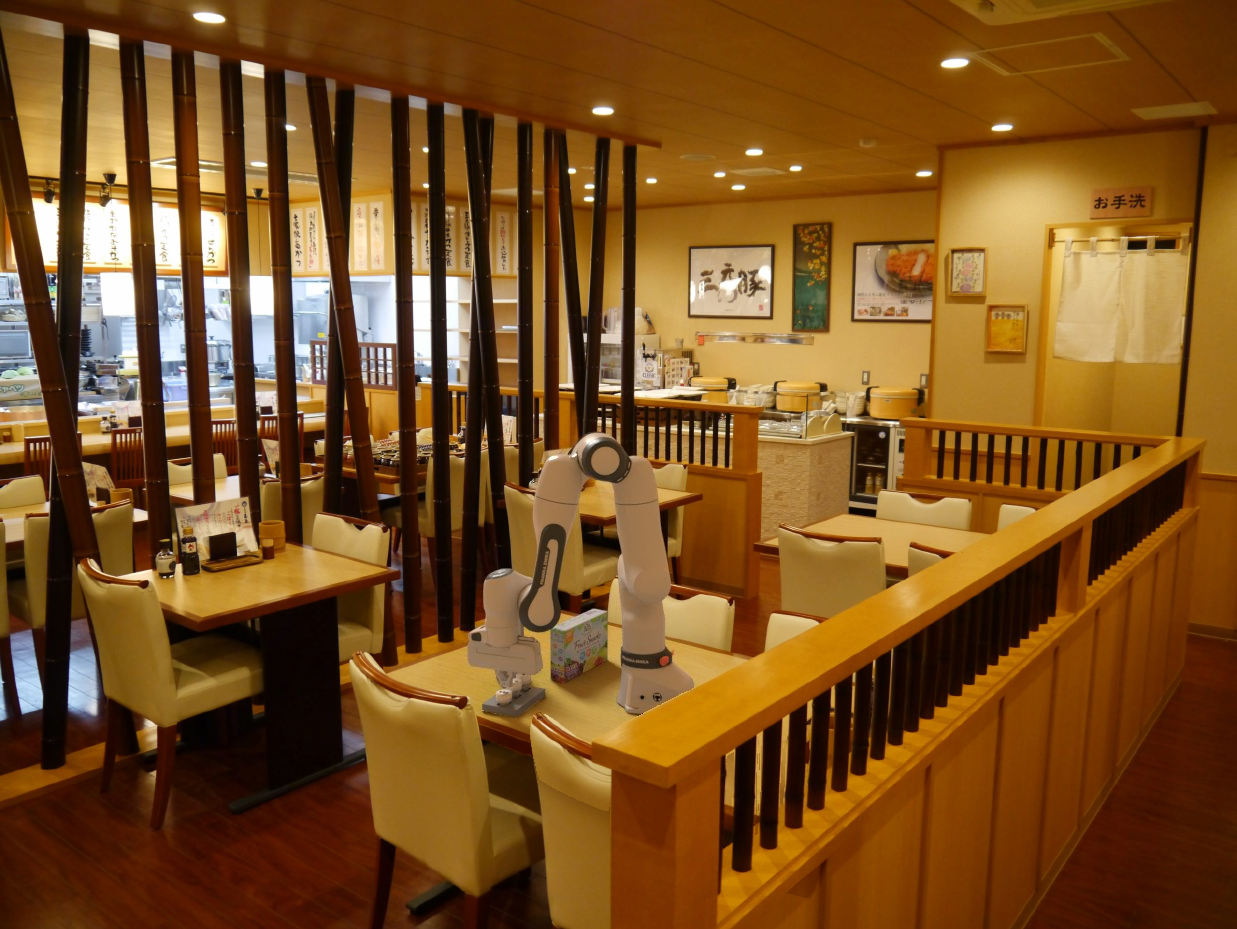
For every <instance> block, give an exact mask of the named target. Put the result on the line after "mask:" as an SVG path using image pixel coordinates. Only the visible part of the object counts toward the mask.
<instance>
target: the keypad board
mask: <svg viewBox="0 0 1237 929" xmlns="http://www.w3.org/2000/svg"><path fill="white" fill-rule="evenodd" d="M504 689H506V687H503V689H502V690H504ZM545 697H546V688H543V687H538V686H532V685H529V690H528V691H525V692H523V691H519V697H518V698H516V699H513V698H512V701H511V702H509V705H508V706H501V705H499V703H498V702H497V701H496V694H494V695H493V696H491V697H490V698H488V699H487V700H486V701H484V702H482V703H481V707H482V708H481V709H482V710H484V711H487V712H486V713H488V712H491V713H490V714H494V713H496V714H495V715H499V714H501V716H505V715H506V716H505V717H511V718H515V717H516V719H517V718H518V717H520V716H521V715H522V714H524V713H525V712H526V711H528V710H529V709H530V708H532V707H533V706H534V705H535V704H536V703H539V702H540V701H541V700H542V699H544V698H545ZM482 710H481V711H482Z"/></svg>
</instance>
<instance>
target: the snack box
mask: <svg viewBox="0 0 1237 929" xmlns="http://www.w3.org/2000/svg"><path fill="white" fill-rule="evenodd" d="M608 616H609V611H608V610H602V609H597V608H591V609H590V610H587V611H586V612H583V613H581V614H579V615H577V616H574V617H572V618H569V619H567V620H564V621H563V622H560V623H557V624H556V625H555V626H554V627H553V628H552V629H550V630H549V632H550V634H549V636H550V638H549V639H550V646H549V648H550V659H549V660H550V680H554V681H557V682H560V683H563V684H564V683H566V682H569V681H570V680H572V679H574V678H576V677H578V676H581V675H582V674H583V673H586V672H587V671H589V670H591V669H593V668H596V667H598V666H599V665H601V664H603V663H605V662H606V661H608V658H609V657H608V656H609V655H608V652H609V651H608V648H609V647H608V645H609V644H608V642H609V640H608V639H609V633H608V632H609V631H608V628H609V627H608V623H609V622H608V621H609V617H608Z"/></svg>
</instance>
